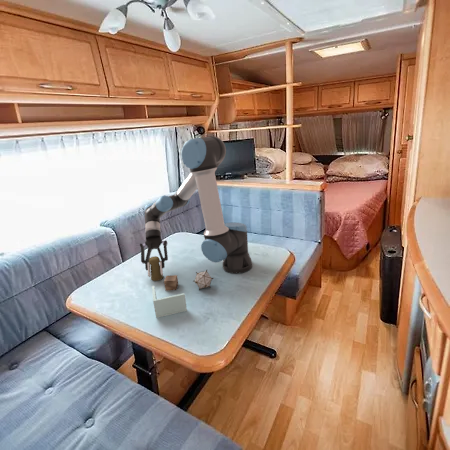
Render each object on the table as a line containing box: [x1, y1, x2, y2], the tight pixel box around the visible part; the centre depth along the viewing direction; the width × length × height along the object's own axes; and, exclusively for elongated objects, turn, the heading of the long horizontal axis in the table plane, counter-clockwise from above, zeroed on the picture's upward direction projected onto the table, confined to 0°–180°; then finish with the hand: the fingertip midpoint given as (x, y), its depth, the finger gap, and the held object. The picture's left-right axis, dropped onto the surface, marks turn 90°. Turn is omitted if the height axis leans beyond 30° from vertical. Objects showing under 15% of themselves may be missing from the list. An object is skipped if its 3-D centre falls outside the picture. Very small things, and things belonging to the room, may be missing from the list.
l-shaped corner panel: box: [151, 285, 188, 319], centre depth 116 cm, size 12×12×8 cm
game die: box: [192, 269, 214, 291], centre depth 128 cm, size 9×8×10 cm
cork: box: [149, 255, 164, 282], centre depth 139 cm, size 6×6×11 cm
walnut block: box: [163, 274, 179, 292], centre depth 130 cm, size 5×5×5 cm
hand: (155, 275), depth 136 cm, fingers closed on cork, 5 cm apart
